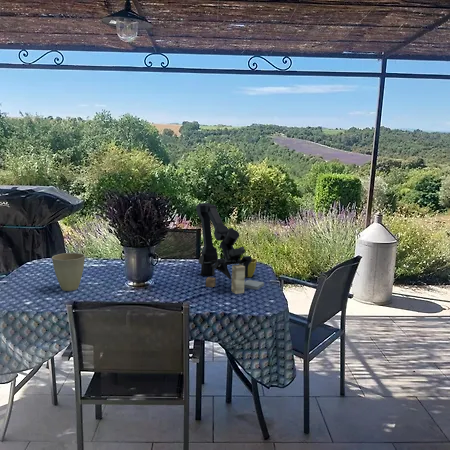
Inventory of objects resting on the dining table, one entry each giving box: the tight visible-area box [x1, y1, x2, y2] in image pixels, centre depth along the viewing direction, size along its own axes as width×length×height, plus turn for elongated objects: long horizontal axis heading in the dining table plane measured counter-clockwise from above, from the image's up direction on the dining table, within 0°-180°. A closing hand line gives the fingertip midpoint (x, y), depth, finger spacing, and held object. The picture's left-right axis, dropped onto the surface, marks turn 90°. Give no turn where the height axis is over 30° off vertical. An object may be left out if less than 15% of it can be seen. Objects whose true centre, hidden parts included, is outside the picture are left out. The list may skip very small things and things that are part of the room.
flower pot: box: [238, 257, 258, 278], centre depth 246 cm, size 9×9×9 cm
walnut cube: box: [205, 276, 217, 288], centre depth 227 cm, size 4×4×4 cm
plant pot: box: [51, 252, 86, 292], centre depth 215 cm, size 15×15×16 cm
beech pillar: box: [231, 264, 246, 295], centre depth 217 cm, size 4×4×13 cm
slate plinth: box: [244, 279, 265, 290], centre depth 228 cm, size 9×9×2 cm
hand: (238, 277), depth 216 cm, fingers open, 9 cm apart
